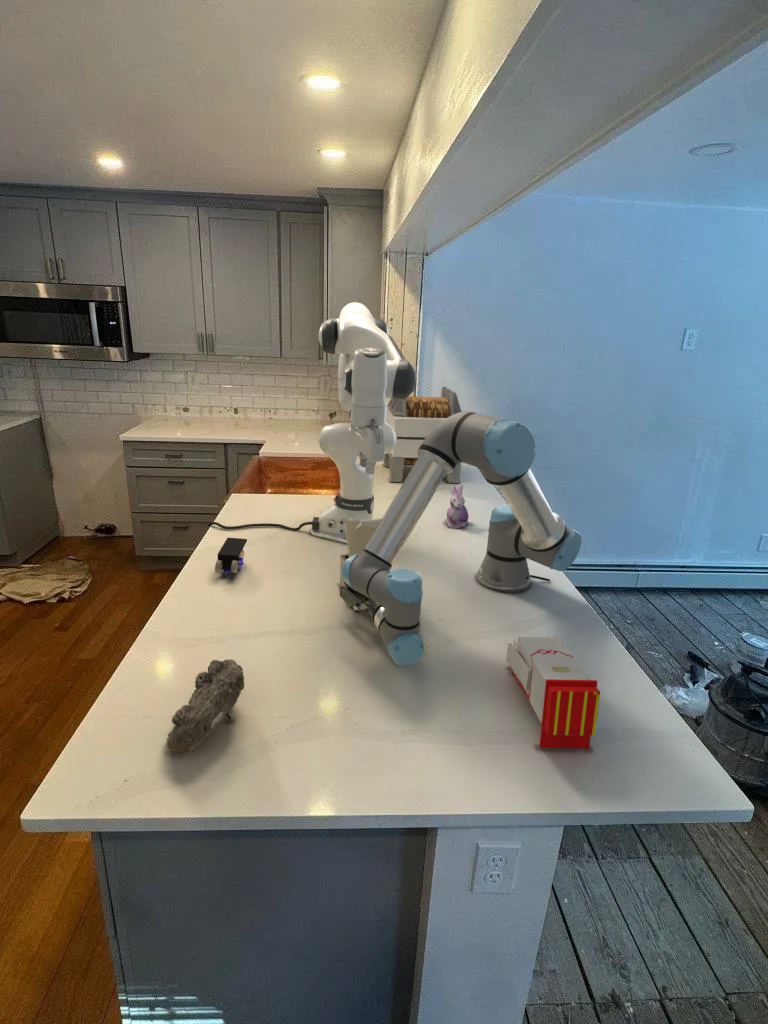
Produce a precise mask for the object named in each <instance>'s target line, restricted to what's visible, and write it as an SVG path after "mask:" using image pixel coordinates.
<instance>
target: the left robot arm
mask: <svg viewBox="0 0 768 1024" xmlns="http://www.w3.org/2000/svg"><path fill="white" fill-rule="evenodd" d="M318 342H319V345H320V347H321V349H322V351H323V352H324V353H326V354H328V355H329V354H330V355H335V354H337V355H338V354H339V355H338V356H339V357H338V365H337V383H338V384H337V387H338V388H337V389H338V402H339V405H340V407H341V408H342V409H343V410H344V411H346V412H347V413H348V417H349V419H350V422H338V423H332V424H328V425H325V426H324V427H322V429H321V431H320V432H319V435H318V444H319V447H320V449H321V451H322V452H323V454H325V455H326V456H327V457H328V458H330V459H331V460H332V462H333V463H334V464H335V466H336V467H337V470H338V474H339V483H340V484H339V485H340V488H339V489H340V490H339V491H338V492H337V494H336V495H335V496H334V497H333V502H334V504H333V505H331V506H329V507H328V508H326V509H325V510H323V512H321V514H320V515H319V516H313V518H312V521H305V522H302V523H300V524H299V525H298V526H297V527H290V526H287V525H284V524H281V523H271V522H270V523H269V522H268V523H267V522H265V523H264V522H262V523H248V524H242V525H233V526H231V525H230V526H229V525H224V524H221V523H220V522H217V521H211V522H209V523H208V524H207V527H212V526H213V525H215V526H217V527H219V528H221V529H225V530H238V529H244V528H245V529H246V528H251V527H253V528H255V527H278V528H282V529H285V530H288V531H293V532H297V531H300V530H301V529H302V528H303V527H304V526H310V525H311V530H310V533H311V536H315V537H319V538H323V539H326V540H330V541H336V542H339V543H343V544H348V543H347V534H346V525H345V522H346V521H354V520H368V519H374V513H373V512H374V509H375V496H374V474H375V468H376V465H377V463H381V462H384V457H385V454H387V453H390V452H391V451H392V450H393V449H394V447H395V445H396V434H395V431H394V429H393V428H392V427H391V426H390V425H389V424H387V423H386V412H387V405H388V403H387V402H388V401H387V399H391V398H393V399H400V400H404V399H405V398H407V397H408V396H411V395H412V393H414V391H415V389H416V383H417V377H416V370H415V368H414V366H413V364H412V363H411V362H410V360H407V358H406V357H405V356H404V354H403V353H402V350H401V348H400V347H399V346H398V344H397V342H396V341H395V339H394V338H393V336H391V335H390V332H389V328H388V325H387V323H386V321H385V320H384V319H383V318H378V317H374V316H373V315H372V313H371V311H370V310H369V308H368V307H367V306H366V305H364V304H363V303H360V302H357V301H356V302H350V303H347V304H346V305H345V306H344V307H342V309H341V311H340V313H339V316H338V318H334V317H332V318H329V319H326V320H324V321H323V322H322V323H321V324H320V328H319V331H318ZM358 457H359V463H358V462H357V458H358Z"/></svg>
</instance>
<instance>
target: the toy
mask: <svg viewBox="0 0 768 1024" xmlns="http://www.w3.org/2000/svg"><path fill="white" fill-rule="evenodd" d="M505 659H506V660H505V661H506V663H507V664H508V666H509V667H508V669H510V671H511V673H512V674H513V676H514V678H515V680H516V681H517V683H518V685H519V686H520V688H521V689H522V691H523V693H524V694H525V696H526V698H527V700H529V703H530V705H531V707H532V708H533V711H534V712H535V715H536V716H537V718H538V720H539V722H540V725H541V726H540V736H539V744H538V746H539V748H540V749H590V746H591V736H592V737H595V735H596V731H597V730H596V729H597V722H598V721H597V720H598V714H599V713H598V712H599V703H600V697H601V691H600V690H599V688H598V680H596V679H591V678H590V677H589V675H588V674H587V673H586V672H585V670H584V669H583V668H582V667H581V665H580V664H579V663H578V661H577V660H576V659H575V657H574V656H573V655H572V653H570V650H569V649H568V648H567V647H566V645H564V643H563V642H562V641H561V639H560V638H559V637H548V636H547V637H546V636H545V637H543V636H518V638H517V637H515V638H512V643H511V642H508V646H507V653H506V658H505Z"/></svg>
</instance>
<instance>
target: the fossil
mask: <svg viewBox="0 0 768 1024" xmlns="http://www.w3.org/2000/svg"><path fill="white" fill-rule="evenodd" d="M243 670H244V669H243V667H242V665H240V664H237V662H236V661H235V660H234V659H232V658H231V659H227V658H226V659H224V660H223V661H222V660H217V659H212V660H211V661H210V663H209V665H208V666H207V671H201V672H199V673H198V674H197V675H196V676H195V680H194V684H195V685H194V687H195V689H194V690H193V693H192V694H191V697H190V698H189V700H188V704H184V705H182V706H181V707H180V709H177V710H176V711H175V713H174V715H173V716H172V718H171V723H172V724H173V727H172V730H171V731H170V732H168V734H167V738H166V741H167V742H166V745H167V749H168V750H169V751H173V752H174V753H176V754H178V753H182V752H188V751H189V752H192V751H193V750H195V748H196V747H197V746H199V744H200V743H201V742H203V741H204V740H205V739H206V738H207V737H208V736H209V735H210V734H211V733H212V732H214V730H215V729H217V727H218V726H219V724H220V722H221V721H222V720H223V719H224V718H225V716H226V717H227V719H229V720H233V717H232V715H230V714H229V710H230V709H231V708H234V706H235V704H236V703H237V702H238V699H239V697H240V695H241V693H242V691H243V690H245V689H244V688H245V675H244V671H243Z"/></svg>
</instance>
